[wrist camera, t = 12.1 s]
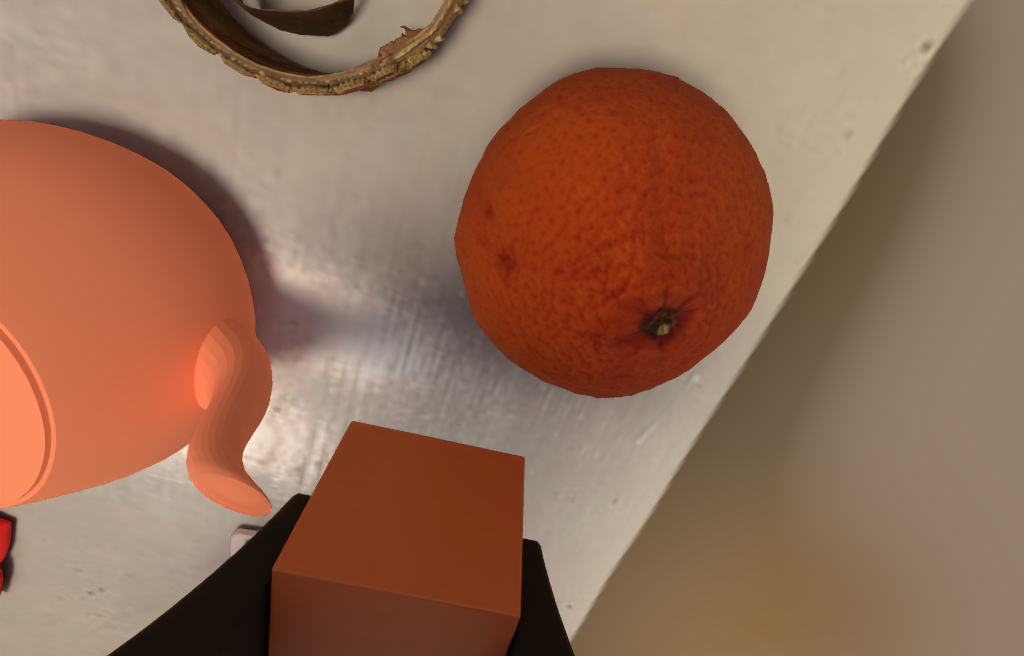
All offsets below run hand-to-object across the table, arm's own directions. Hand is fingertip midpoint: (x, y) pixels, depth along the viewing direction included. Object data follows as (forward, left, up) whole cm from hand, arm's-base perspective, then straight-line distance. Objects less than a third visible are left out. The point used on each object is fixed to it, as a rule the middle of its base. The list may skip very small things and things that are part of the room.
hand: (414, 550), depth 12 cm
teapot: (+13, +1, -11) cm, 17 cm away
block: (0, 0, -1) cm, 1 cm away
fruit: (-3, -6, -10) cm, 13 cm away
